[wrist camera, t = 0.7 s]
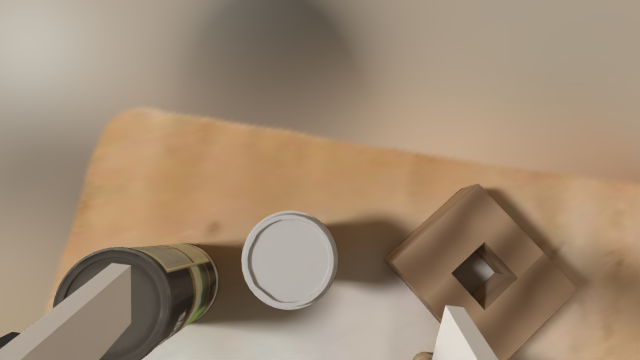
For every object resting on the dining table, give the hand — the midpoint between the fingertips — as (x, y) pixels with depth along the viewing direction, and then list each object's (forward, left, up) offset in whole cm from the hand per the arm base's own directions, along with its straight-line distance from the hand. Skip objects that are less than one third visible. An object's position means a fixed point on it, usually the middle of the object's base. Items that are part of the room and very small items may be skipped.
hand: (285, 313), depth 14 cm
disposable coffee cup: (+1, +1, -30) cm, 30 cm away
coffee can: (+8, +15, -30) cm, 34 cm away
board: (-15, -14, -30) cm, 36 cm away
